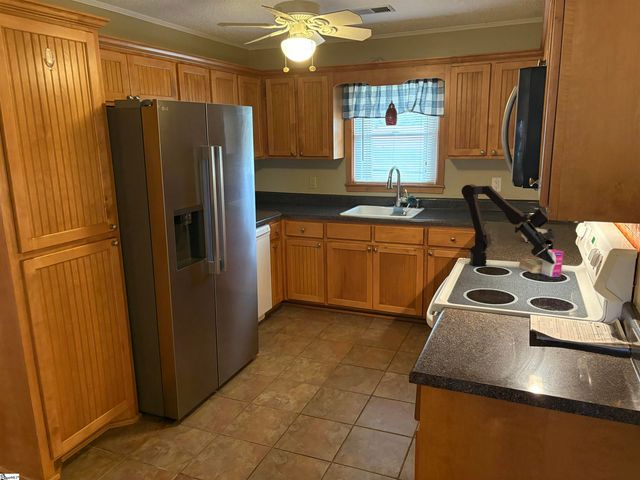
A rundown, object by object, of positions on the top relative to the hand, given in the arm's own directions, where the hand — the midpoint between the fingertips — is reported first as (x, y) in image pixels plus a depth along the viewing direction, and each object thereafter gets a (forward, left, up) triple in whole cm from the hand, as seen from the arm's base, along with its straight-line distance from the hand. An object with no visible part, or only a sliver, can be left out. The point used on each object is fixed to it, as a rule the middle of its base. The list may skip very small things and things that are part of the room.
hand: (555, 261), depth 213 cm
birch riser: (-1, +12, -7) cm, 14 cm away
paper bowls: (+29, +80, -7) cm, 85 cm away
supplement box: (-1, +1, -7) cm, 7 cm away
